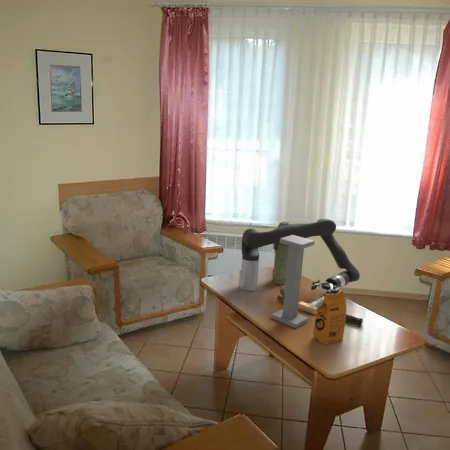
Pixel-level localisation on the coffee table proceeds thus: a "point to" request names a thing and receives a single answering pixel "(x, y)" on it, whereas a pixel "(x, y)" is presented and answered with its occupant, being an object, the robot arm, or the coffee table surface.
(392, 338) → the coffee table surface
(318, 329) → the coffee package
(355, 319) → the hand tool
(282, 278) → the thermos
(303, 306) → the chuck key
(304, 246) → the headphone stand
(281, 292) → the rhino figurine
